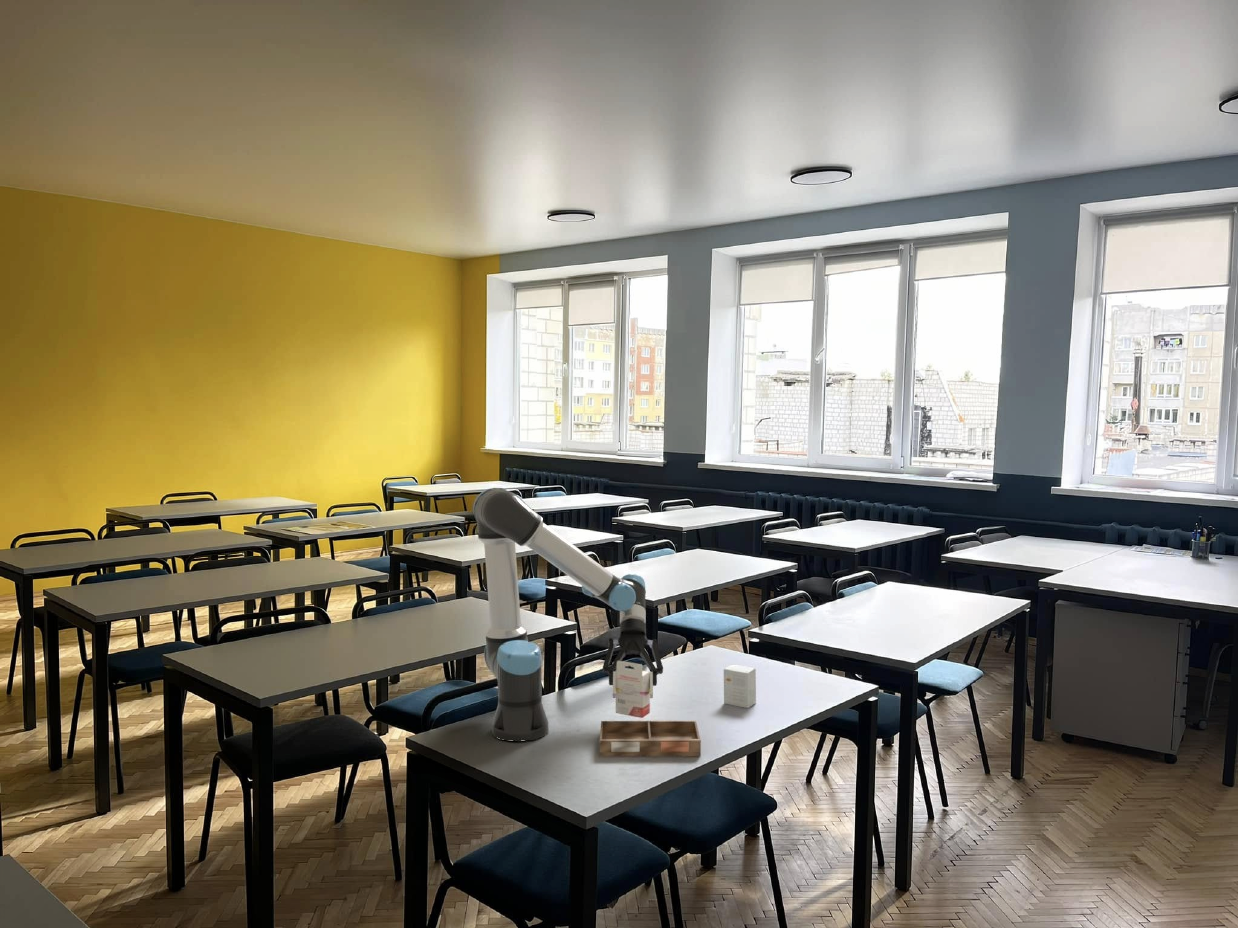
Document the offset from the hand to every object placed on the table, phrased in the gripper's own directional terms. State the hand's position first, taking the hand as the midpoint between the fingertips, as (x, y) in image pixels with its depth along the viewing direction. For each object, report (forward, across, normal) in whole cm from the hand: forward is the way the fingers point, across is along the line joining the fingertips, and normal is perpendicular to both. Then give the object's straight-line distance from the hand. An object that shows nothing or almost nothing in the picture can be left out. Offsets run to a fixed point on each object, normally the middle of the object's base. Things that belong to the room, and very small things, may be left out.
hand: (632, 695), depth 228 cm
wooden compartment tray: (+15, -4, +3) cm, 16 cm away
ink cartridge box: (+2, 0, -7) cm, 7 cm away
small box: (-7, -32, -20) cm, 38 cm away
